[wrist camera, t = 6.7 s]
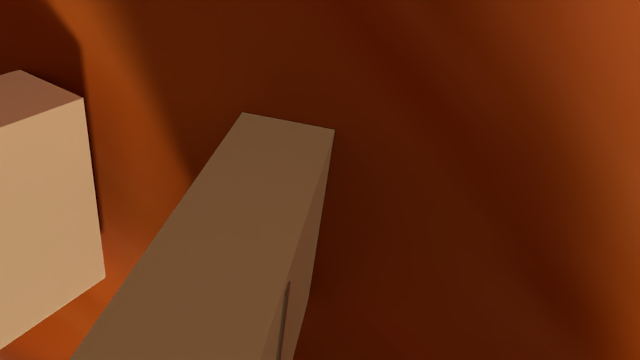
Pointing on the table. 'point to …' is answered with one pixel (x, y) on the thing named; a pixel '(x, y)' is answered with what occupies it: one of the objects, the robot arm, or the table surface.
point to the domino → (44, 203)
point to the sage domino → (227, 255)
